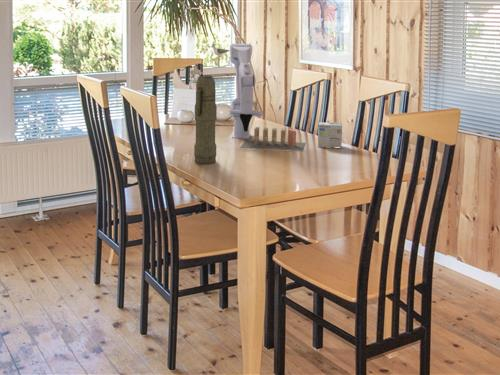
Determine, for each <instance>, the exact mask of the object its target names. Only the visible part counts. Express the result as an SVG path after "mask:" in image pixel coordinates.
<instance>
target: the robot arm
mask: <svg viewBox="0 0 500 375" xmlns="http://www.w3.org/2000/svg"><path fill="white" fill-rule="evenodd" d="M252 55H253V47H252V44H251V43H231V44H230V46H229V56H230V57H229V58H230V63H231V64H232V65H233V66H234V68H235V69H234V70H235V82H236V98H235V99H233V100H232V101H231V104H230V105H231V106H230V111H229V115H230V116H231V117H232V118H233V119H234V120H233V135H232V137H231V138H232V139H245V140H250V137H251V136H252V134H251V133H250V123H251V120H252V118H253V117H255V116H256V117H257V116H258V117H263V113H264V112H263V110H254V105H253V104H254V87H255V81H256V79H255V75H254V72H253V71H252V66H251V64H250V62H251V59H252Z"/></svg>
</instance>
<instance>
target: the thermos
mask: <svg viewBox="0 0 500 375" xmlns="http://www.w3.org/2000/svg"><path fill="white" fill-rule="evenodd" d="M195 85H196V86H195V88H196V89H195V91H196V92H195V103H194V121H195V143H194V145H193V146H194V149H193V151H194V152H193V154H194V155H193V156H194V162H195V164H199V165H212V164H216V162H217V160H216V159H217V158H216V157H217V143H216V121H217V120H218V119H217V113H218V112H217V110H218V109H217V107H218V106H217V102H216V91H217V90H216V82H215V77H213V76H212V75H208V74H207V75H206V74H205V75H204V74H203V75H199V76H198V77H197V80H196V84H195Z"/></svg>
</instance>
